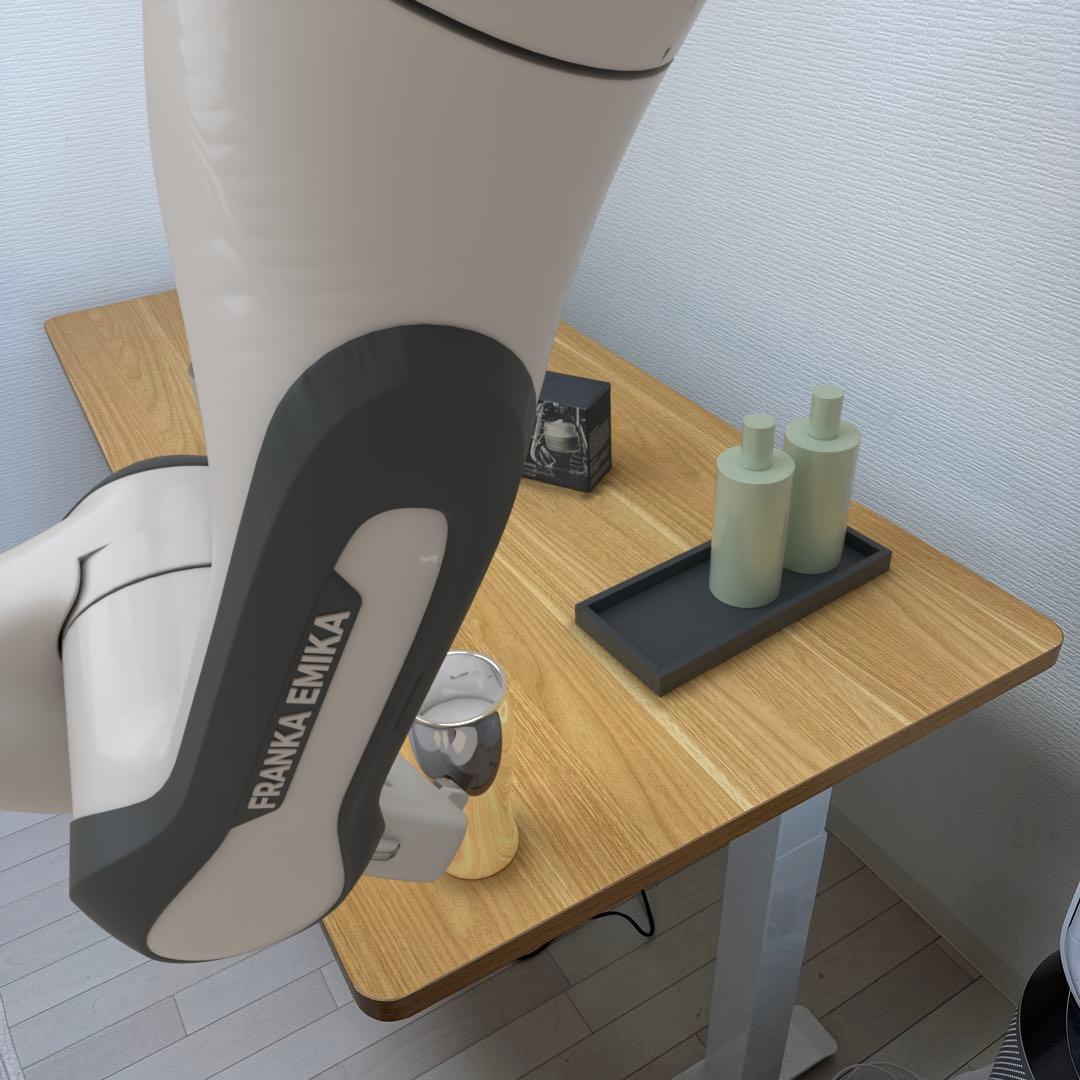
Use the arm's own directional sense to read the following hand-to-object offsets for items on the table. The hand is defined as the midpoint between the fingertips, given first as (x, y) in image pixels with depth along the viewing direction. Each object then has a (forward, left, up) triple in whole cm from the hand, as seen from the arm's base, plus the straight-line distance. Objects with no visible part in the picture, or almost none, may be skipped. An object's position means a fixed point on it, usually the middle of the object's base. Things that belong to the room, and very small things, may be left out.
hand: (406, 756), depth 58 cm
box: (+38, -37, -12) cm, 54 cm away
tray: (+10, -37, -12) cm, 40 cm away
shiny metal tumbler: (+1, -4, -12) cm, 13 cm away
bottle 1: (+10, -38, -11) cm, 41 cm away
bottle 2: (+10, -46, -11) cm, 48 cm away
